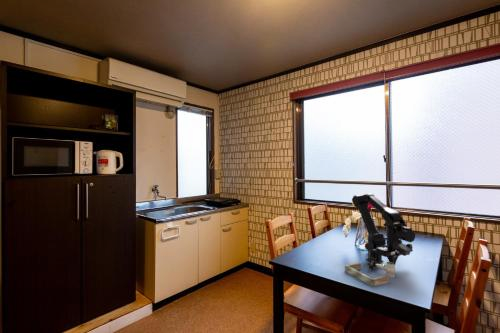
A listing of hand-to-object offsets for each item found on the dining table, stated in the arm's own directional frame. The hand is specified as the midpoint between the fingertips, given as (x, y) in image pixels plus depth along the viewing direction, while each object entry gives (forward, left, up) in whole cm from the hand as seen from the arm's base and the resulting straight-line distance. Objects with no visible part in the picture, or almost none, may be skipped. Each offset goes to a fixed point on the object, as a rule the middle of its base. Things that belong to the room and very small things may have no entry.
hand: (392, 266), depth 126 cm
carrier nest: (0, -18, -2) cm, 19 cm away
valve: (+1, -8, -2) cm, 9 cm away
